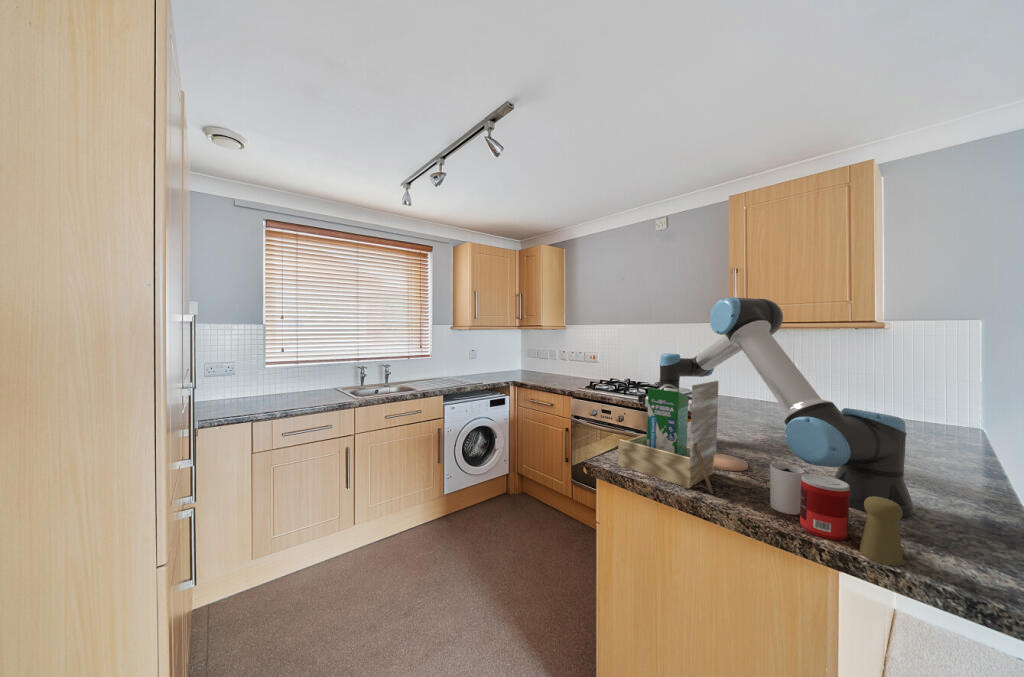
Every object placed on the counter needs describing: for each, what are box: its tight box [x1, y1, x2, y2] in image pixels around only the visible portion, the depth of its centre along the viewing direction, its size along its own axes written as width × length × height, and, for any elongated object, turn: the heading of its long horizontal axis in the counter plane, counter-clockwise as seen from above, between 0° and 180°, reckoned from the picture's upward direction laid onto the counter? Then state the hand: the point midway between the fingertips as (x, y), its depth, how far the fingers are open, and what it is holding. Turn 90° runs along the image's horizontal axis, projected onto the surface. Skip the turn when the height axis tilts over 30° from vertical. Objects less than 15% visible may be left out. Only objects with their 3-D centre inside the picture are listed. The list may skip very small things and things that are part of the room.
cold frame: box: [617, 380, 720, 495], centre depth 111 cm, size 28×17×28 cm, turn 41°
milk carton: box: [646, 387, 689, 457], centre depth 114 cm, size 9×9×25 cm
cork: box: [858, 496, 905, 567], centre depth 70 cm, size 6×6×11 cm
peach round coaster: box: [714, 452, 749, 472], centre depth 120 cm, size 13×13×1 cm
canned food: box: [799, 473, 850, 541], centre depth 79 cm, size 8×8×11 cm
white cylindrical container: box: [769, 462, 805, 515], centre depth 89 cm, size 7×7×10 cm
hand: (668, 405), depth 123 cm, fingers open, 13 cm apart
